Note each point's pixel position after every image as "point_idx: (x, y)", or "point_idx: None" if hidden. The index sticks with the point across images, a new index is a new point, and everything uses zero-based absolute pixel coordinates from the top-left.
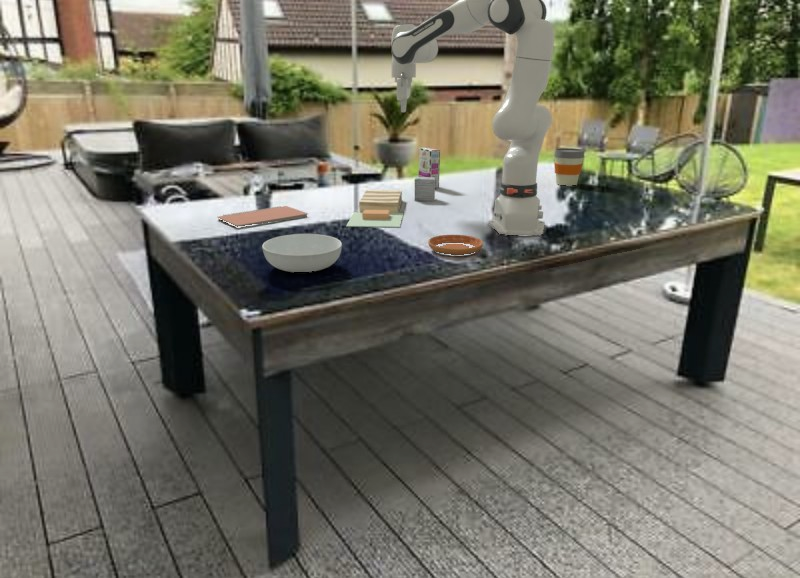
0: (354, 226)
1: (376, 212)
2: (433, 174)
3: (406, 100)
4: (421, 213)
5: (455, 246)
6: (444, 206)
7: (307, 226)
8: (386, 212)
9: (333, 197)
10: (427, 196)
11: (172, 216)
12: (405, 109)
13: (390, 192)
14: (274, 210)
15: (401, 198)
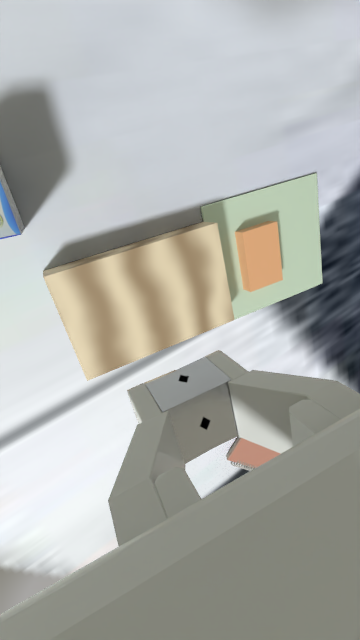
0: (320, 267)
1: (270, 253)
2: None
3: (191, 485)
4: (185, 155)
5: None
6: (69, 94)
7: (325, 345)
8: (266, 230)
9: (86, 455)
10: (5, 179)
11: None
12: (232, 361)
13: (92, 298)
14: (263, 450)
15: (57, 268)
